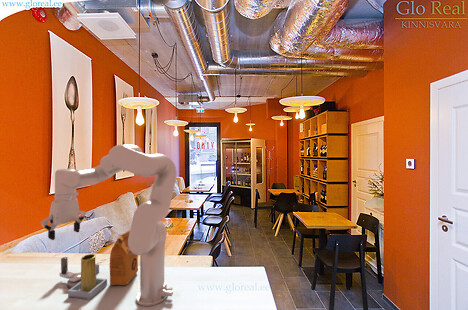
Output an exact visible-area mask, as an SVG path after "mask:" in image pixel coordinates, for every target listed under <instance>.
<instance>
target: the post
mask: <svg viewBox="0 0 468 310" xmlns="http://www.w3.org/2000/svg"><path fill="white" fill-rule="evenodd" d="M95 266H96V275H98V274H99V273H100V264H98V263H97V264H96V263H95Z"/></svg>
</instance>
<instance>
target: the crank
mask: <svg viewBox="0 0 468 310" xmlns="http://www.w3.org/2000/svg"><path fill="white" fill-rule="evenodd" d="M68 262H69V261H68V256H64V257H62V258H60V269H61V270H60V272H59V277H60V278H64V279H68V280H69V282H71V283H75V282H79V281H81V272H76V273H75V272H71V271H68V270H69V269H68V267H69V266H68Z"/></svg>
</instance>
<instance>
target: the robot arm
mask: <svg viewBox="0 0 468 310" xmlns="http://www.w3.org/2000/svg"><path fill="white" fill-rule="evenodd" d="M122 171H126V172H129V173H131V174H134V175H137V176H140V177H144V178H149V177H154V176H155V180H154V182H153V185H152V187H151V192H150V196H149V198H148V199H147V200H146V201H145V202H142V203H141V204H139V205H138V206H137V208H136V209H135V211H134V213H133V217H132V219H131V220H132V221H131V225H130V229H129V230H130V233H129V238H128V246H129V249H130V251H131V252H132V253H133V254H135V255H138V256H140V259H139V261H140V262H139V263H140V265H139V267H140V268H139V275H140V279H139V280H140V281H139V282H140V284H139V287H140V288H139V289H140V290H139V291H138V292H137V294H136V297H135V300H136V303H137V304H138V305H140V306H144V307H151V306H155V305H159V304H160V303H162V302H163V301H165V299H167V297H173V293H174V291H173V289H174V288H173V287H172V286H171V287H168V284H167V282H165V252H166V251H165V249H166V248H165V247H166V240H167V228H166V226H165V224H164V223H163V222H162V220H164V219H165V218H166V217H167V216H168V215H169V212H170V209H171V203H172V199H173V194H174V189H175V185H176V180H177V174H178V171H177V168H176V164H175V162H174V160H172V158H171V157H169V156H167V155H165V154H163V153H153V154H152V153H151V154H145V153H144V152H143V150H142V148H140V146H138V145H135V144H117V145H116V144H115V146H113V147H112V148H110V150H108V154H107V155H104V156H103V157H102V158H101V159H100V160H99V164H98V165H97V166H94V167H92V168H83V169H73V168H60V169H57V170H56V171H55V172H54V200H53V201H52V202H51V205H50V209H49V216H48V217H46V218H44V219H43V220H42V221H40V224H41V226H42V228H44V229H46V230H47V231H48V232H47V234H48V235H47V237H48V239H50V240H52V241H54V240H56V230H55V228H56V227H57V226H60V225H65V224H69V223H72V222H74V223H73V232H75V233H80V229H81V223H82V221H83V220H84V218H85V217H86V214H87V211H83V210H80V206H79V200H78V198H77V196H79V195H80V194H79V192H77V189H80V188H85V187H88V186H93V185H96V184H99V183H102V182H104V181H106V180H108V179H110V178H111V177H113V176H115V174H118V173H120V172H122ZM47 223H48V224H49V225H48V224H47Z"/></svg>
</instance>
